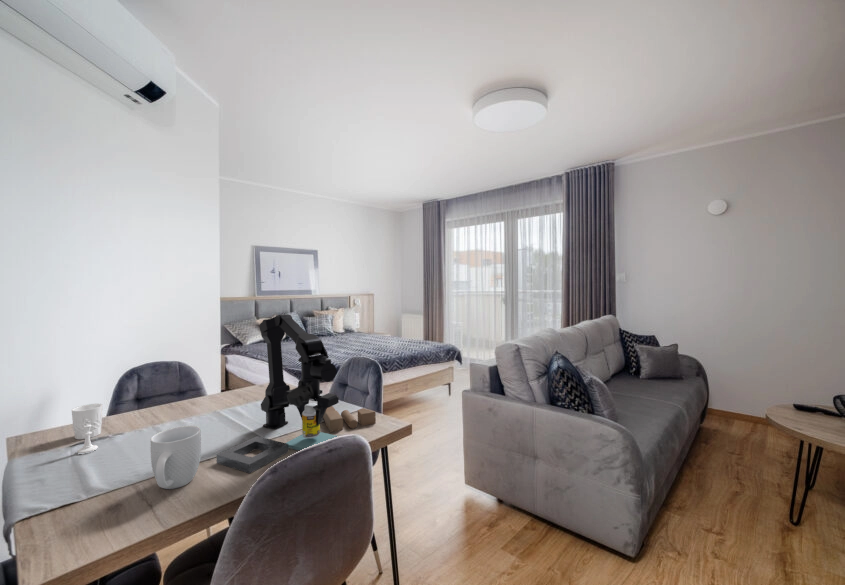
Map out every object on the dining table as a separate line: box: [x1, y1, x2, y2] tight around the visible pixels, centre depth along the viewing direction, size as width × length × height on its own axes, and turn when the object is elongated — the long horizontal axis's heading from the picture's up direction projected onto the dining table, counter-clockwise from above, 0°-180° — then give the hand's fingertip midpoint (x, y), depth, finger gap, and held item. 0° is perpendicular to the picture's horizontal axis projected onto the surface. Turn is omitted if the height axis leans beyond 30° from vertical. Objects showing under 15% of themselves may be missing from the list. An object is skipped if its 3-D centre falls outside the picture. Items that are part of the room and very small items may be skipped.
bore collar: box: [216, 435, 290, 474], centre depth 108 cm, size 14×14×2 cm
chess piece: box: [76, 419, 99, 453], centre depth 113 cm, size 5×5×10 cm
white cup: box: [71, 403, 103, 440], centre depth 125 cm, size 8×8×10 cm
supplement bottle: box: [301, 402, 321, 439], centre depth 117 cm, size 6×6×10 cm
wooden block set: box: [322, 405, 377, 433], centre depth 137 cm, size 17×6×18 cm
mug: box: [149, 425, 202, 490], centre depth 92 cm, size 15×11×13 cm
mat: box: [285, 431, 338, 451], centre depth 118 cm, size 12×12×1 cm
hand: (311, 423), depth 118 cm, fingers closed on supplement bottle, 5 cm apart
